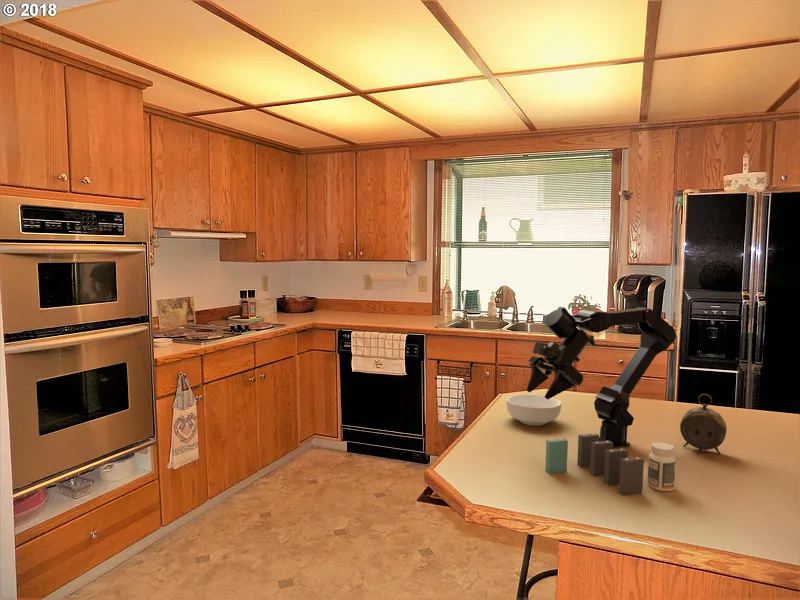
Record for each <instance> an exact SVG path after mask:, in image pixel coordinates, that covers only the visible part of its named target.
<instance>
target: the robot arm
mask: <svg viewBox="0 0 800 600" xmlns="http://www.w3.org/2000/svg"><path fill="white" fill-rule="evenodd" d="M543 324H544V326H546V328H548V329H549V330H550V332H551V333H553V334H554V335H555V337H557V338H558V339H562V341H561V342H560V343H556V342H553V341H550V342H549V343H548V344H547V343H543V342H540V341H535V344H534V347H533V350H532V354H534V355H532V356H531V357H530V358H529V360H528V363H529V367H530V369H531V375H530V378H529V381H528V385H527V387H526V391H527V392H528V393H531V392H533V391H534V390H535V389H536V388H538V387H539V386H540V385H541V384H543V383H544V382H545V381H546V380H548V379H549V378H550V377H549V376H550V375H552V373H554V378H553V381H552V382H551V384H550V386H549V388H548V389H547V390H546V393H545V395H544V396H545V398H546V399H547V400H548V399H550V398H554V397H556V396H558V395H560V393H563V392H565V391H568V390H569V389H570V390H571V388H575V387H576V386H579V387H580V386H581V385H582V383H583V382H584V375H583V374H582V372H580V371H579V370H578V369H577V368H576V367H575V366H574V365H573V364H574V363H575V362H577V363H579V362H580V360H581V359H580V358H579V356H580V354H581V353H582V351H584V349H585V347H586V346H587V345H588V346H592V347H594V346H595V345H596V343H595V339H594V337H595V336H594V335H591V334H588V333H587V332H590V333H597V334H598V333H601V332H604V331H607V330H608V329H610V328H612V327H614V326H616V327H617V326H621V325H623V326H625V325H631V324H637V327H638V329H639V330H640V332H641V334H640V343H639V344H640V345H639V347H638V349H637V350H636V351H635V353H634V354H633V356H632V357H631V358H630V360H629V362H628V363H627V364H626V366H625V368H624V369H623V370H622V372H621V373H620V375H619V376H618V378H617V379H616V381H615V382H614V384H613V385H611V386H609V387H608V386H605V385H603V386H602V387H601V389H600V390H599V393H598V394H596V395H595V400H594V403H593V405H594V410H595V412H596V414H597V418H598V419H601V426H600V432H599V433H600V434H599V441H611V442H613V448H615V447H626V446H631V442H629V441H628V427H629V426H632V425H633V422H634V419H635V417H634V416H633V415H632V414H631V413H630V412H629V411H628V409H629V407H630V395H631V394H632V392H633V391H634V389H635V387H636V386H637V385H638V383H639V382H640V380H641V378H642V377H643V375H644V374H645V373H646V371H647V370H648V368H649V366H650V365H651V364H652V362H653V360H654V359H655V358H656V357H657V355H658V354H660V353H663V352H665V351H666V350H668V349H669V347H671V346H672V344H674V342H675V340H676V339H677V334H676V330H675V328H674V326H673V325H671V324H670V323H669V322H668V321H667V320H666V319H665V320H664V318H662V317H661V316H660V315H658V314H657V313H656V312H655V311H654V310H653V309H652V308H648V307H640V306H638V307H635V308H629V309H626V308H625V309H620V310H619V309H617V310H609V311H601V310H593V309H581V310H578V312H577V313H576V314H573V315H572V314H571V313H570V312H569V311H568V310H567V308H565V307H564V306H558V308H557V309H555V310H553V311H551V312H550V313H549V314H547V315H546V316H545V318H544V320H543ZM535 354H537V355H535ZM538 355H541V356H538Z"/></svg>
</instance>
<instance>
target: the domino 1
mask: <svg viewBox="0 0 800 600" xmlns="http://www.w3.org/2000/svg"><path fill="white" fill-rule="evenodd" d="M545 443H546V445H545V472H546V474H548V475H551V474H559V473H560V474H561V473H567V472H568V451H569V449H568V447H569V445H568V444H569V440H567V439H566V438H557V439H556V438H555V439H546V441H545Z"/></svg>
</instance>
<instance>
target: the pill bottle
mask: <svg viewBox="0 0 800 600" xmlns="http://www.w3.org/2000/svg"><path fill="white" fill-rule="evenodd" d="M650 449H651V452H650V453H649V455H648V465H647V466H648V469H647V485H648V486H649V487H650V488H652V489H653V490H656V491H658V492H671V491H673V490H674V489H675V481H676V460H677V459H676V457H675V456H674V455H673V454H674V452H675V451H674V450H675V449H674V446H673V445H672V444H669V443H666V442H653V443H651V447H650Z"/></svg>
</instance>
